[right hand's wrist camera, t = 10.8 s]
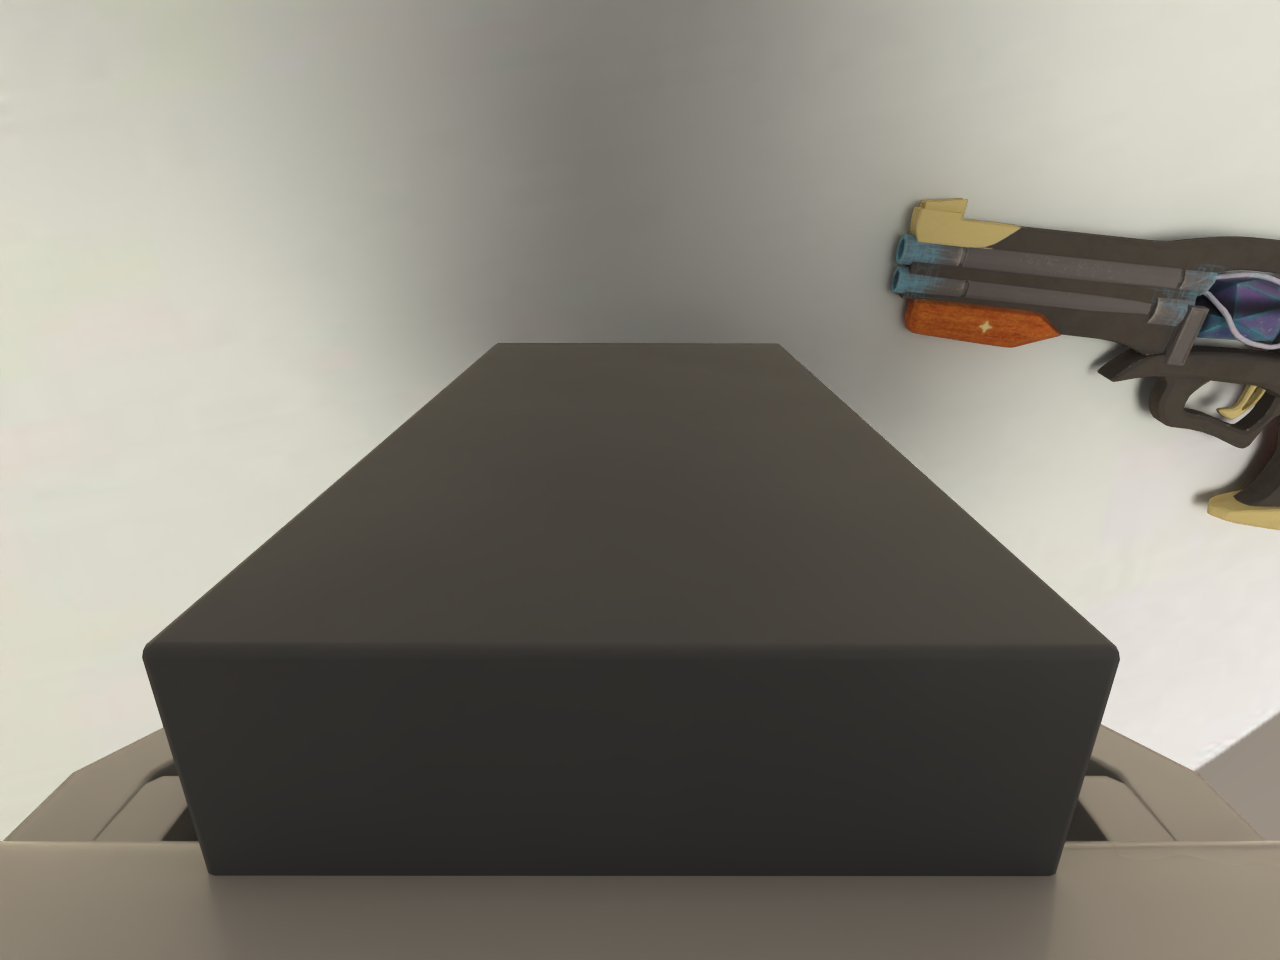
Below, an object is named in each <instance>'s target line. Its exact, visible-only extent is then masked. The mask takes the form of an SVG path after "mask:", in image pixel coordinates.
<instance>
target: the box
mask: <svg viewBox="0 0 1280 960" xmlns="http://www.w3.org/2000/svg"><path fill="white" fill-rule="evenodd" d="M142 658H143V662H144V665H145V668H146V671H147V675H148V678H149V681H150V684H151V688H152V691H153V694H154V698H155V701H156V704H157V707H158V711H159V714H160V717H161V720H162V724H163V727H164V730H165V733H166V737H167V740H168V743H169V746H170V750H171V753H172V756H173V760H174V763H175V766H176V769H177V773H178V776H179V779H180V782H181V786H182V789H183V792H184V795H185V799H186V802H187V805H188V808H189V812H190V815H191V818H192V822H193V825H194V828H195V831H196V835H197V838H198V841H199V844H200V848H201V851H202V854H203V857H204V861H205V864H206V867H207V870H208V873H209V874H212V875H214V876H1051V875H1054V874H1056V871H1057V867H1058V864H1059V861H1060V857H1061V854H1062V851H1063V847H1064V844H1065V841H1066V837H1067V834H1068V831H1069V827H1070V824H1071V821H1072V817H1073V814H1074V811H1075V807H1076V804H1077V801H1078V797H1079V794H1080V791H1081V787H1082V784H1083V781H1084V777H1085V774H1086V771H1087V767H1088V764H1089V761H1090V757H1091V754H1092V751H1093V747H1094V744H1095V741H1096V737H1097V734H1098V731H1099V727H1100V724H1101V721H1102V717H1103V714H1104V711H1105V707H1106V704H1107V701H1108V697H1109V694H1110V691H1111V687H1112V684H1113V681H1114V677H1115V674H1116V671H1117V667H1118V664H1119V661H1120V657H1119V652H1118V649H1117V647H1116V646H1115V645H1114V644H1113V643H1112V642H1110V641H1109V640H1108V639H1107V638H1106V637H1105V636H1104V635H1103V634H1102V633H1100V632H1099V631H1098V630H1097V629H1096V628H1095V627H1094V626H1093V625H1092V624H1090V623H1089V622H1088V621H1087V620H1086V619H1085V618H1084V617H1083V616H1081V615H1080V614H1079V613H1078V612H1077V611H1076V610H1075V609H1074V608H1073V607H1071V606H1070V605H1069V604H1068V603H1067V602H1066V601H1065V600H1064V599H1063V598H1061V597H1060V596H1059V595H1058V594H1057V593H1056V592H1055V591H1054V590H1052V589H1051V588H1050V587H1049V586H1048V585H1047V584H1046V583H1045V582H1044V581H1042V580H1041V579H1040V578H1039V577H1038V576H1037V575H1036V574H1035V573H1034V572H1032V571H1031V570H1030V569H1029V568H1028V567H1027V566H1026V565H1025V564H1024V563H1022V562H1021V561H1020V560H1019V559H1018V558H1017V557H1016V556H1015V555H1013V554H1012V553H1011V552H1010V551H1009V550H1008V549H1007V548H1006V547H1005V546H1003V545H1002V544H1001V543H1000V542H999V541H998V540H997V539H996V538H995V537H993V536H992V535H991V534H990V533H989V532H988V531H987V530H986V529H984V528H983V527H982V526H981V525H980V524H979V523H978V522H977V521H976V520H974V519H973V518H972V517H971V516H970V515H969V514H968V513H967V512H966V511H964V510H963V509H962V508H961V507H960V506H959V505H958V504H957V503H955V502H954V501H953V500H952V499H951V498H950V497H949V496H948V495H947V494H945V493H944V492H943V491H942V490H941V489H940V488H939V487H938V486H937V485H935V484H934V483H933V482H932V481H931V480H930V479H929V478H928V477H926V476H925V475H924V474H923V473H922V472H921V471H920V470H919V469H918V468H916V467H915V466H914V465H913V464H912V463H911V462H910V461H909V460H908V459H906V458H905V457H904V456H903V455H902V454H901V453H900V452H899V451H897V450H896V449H895V448H894V447H893V446H892V445H891V444H890V443H889V442H887V441H886V440H885V439H884V438H883V437H882V436H881V435H880V434H879V433H877V432H876V431H875V430H874V429H873V428H872V427H871V426H870V425H868V424H867V423H866V422H865V421H864V420H863V419H862V418H861V417H860V416H858V415H857V414H856V413H855V412H854V411H853V410H852V409H851V408H850V407H848V406H847V405H846V404H845V403H844V402H843V401H842V400H841V399H839V398H838V397H837V396H836V395H835V394H834V393H833V392H832V391H831V390H829V389H828V388H827V387H826V386H825V385H824V384H823V383H822V382H821V381H819V380H818V379H817V378H816V377H815V376H814V375H813V374H812V373H810V372H809V371H808V370H807V369H806V368H805V367H804V366H803V365H802V364H800V363H799V362H798V361H797V360H796V359H795V358H794V357H793V356H792V355H790V354H789V353H788V352H787V351H786V350H785V349H784V348H783V347H781V346H780V345H779V344H688V343H498V344H496V345H495V346H493V347H492V348H491V349H490V350H489V351H488V352H486V353H485V354H484V355H483V356H482V357H481V358H480V359H478V360H477V361H476V362H475V363H474V364H473V365H471V366H470V367H469V368H468V369H467V370H466V371H464V372H463V373H462V374H461V375H460V376H459V377H457V378H456V379H455V380H454V381H453V382H452V383H450V384H449V385H448V386H447V387H446V388H445V389H443V390H442V391H441V392H440V393H439V394H438V395H436V396H435V397H434V398H433V399H432V400H431V401H429V402H428V403H427V404H426V405H425V406H424V407H422V408H421V409H420V410H419V411H418V412H417V413H415V414H414V415H413V416H412V417H411V418H410V419H408V420H407V421H406V422H405V423H404V424H403V425H401V426H400V427H399V428H398V429H397V430H396V431H394V432H393V433H392V434H391V435H390V436H389V437H387V438H386V439H385V440H384V441H383V442H382V443H380V444H379V445H378V446H377V447H376V448H375V449H373V450H372V451H371V452H370V453H369V454H368V455H366V456H365V457H364V458H363V459H362V460H361V461H359V462H358V463H357V464H356V465H355V466H354V467H352V468H351V469H350V470H349V471H348V472H347V473H345V474H344V475H343V476H342V477H341V478H340V479H338V480H337V481H336V482H335V483H334V484H333V485H332V486H330V487H329V488H328V489H327V490H326V491H325V492H323V493H322V494H321V495H320V496H319V497H318V498H316V499H315V500H314V501H313V502H312V503H311V504H309V505H308V506H307V507H306V508H305V509H304V510H302V511H301V512H300V513H299V514H298V515H297V516H295V517H294V518H293V519H292V520H291V521H290V522H288V523H287V524H286V525H285V526H284V527H283V528H281V529H280V530H279V531H278V532H277V533H276V534H274V535H273V536H272V537H271V538H270V539H269V540H267V541H266V542H265V543H264V544H263V545H262V546H260V547H259V548H258V549H257V550H256V551H255V552H253V553H252V554H251V555H250V556H249V557H248V558H246V559H245V560H244V561H243V562H242V563H241V564H239V565H238V566H237V567H236V568H235V569H234V570H232V571H231V572H230V573H229V574H228V575H227V576H225V577H224V578H223V579H222V580H221V581H220V582H218V583H217V584H216V585H215V586H214V587H213V588H211V589H210V590H209V591H208V592H207V593H206V594H204V595H203V596H202V597H201V598H200V599H199V600H197V601H196V602H195V603H194V604H193V605H192V606H190V607H189V608H188V609H187V610H186V611H185V612H184V613H182V614H181V615H180V616H179V617H178V618H177V619H175V620H174V621H173V622H172V623H171V624H170V625H168V626H167V627H166V628H165V629H164V630H163V631H161V632H160V633H159V634H158V635H157V636H156V637H154V638H153V639H152V640H151V641H150V642H149V643H147V644H146V646H145V648H144V650H143V656H142Z"/></svg>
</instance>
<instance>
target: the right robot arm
mask: <svg viewBox="0 0 1280 960" xmlns="http://www.w3.org/2000/svg"><path fill="white" fill-rule="evenodd" d="M0 960H1280V841H1266V840H1265V839H1264V838H1263V837H1262V836H1261V835H1260V834H1259V833H1258V832H1257V831H1256V830H1255V829H1254V828H1253V827H1252V826H1251V825H1250V824H1249V823H1248V822H1247V821H1246V820H1245V819H1244V818H1243V817H1242V816H1241V815H1240V814H1239V813H1238V812H1237V811H1236V810H1235V809H1234V808H1233V807H1232V806H1231V805H1230V804H1229V803H1228V802H1227V801H1226V800H1225V799H1224V798H1223V797H1222V796H1221V795H1220V794H1219V793H1218V792H1217V791H1216V790H1215V789H1214V788H1213V787H1212V786H1211V785H1210V784H1209V783H1208V782H1207V781H1206V780H1205V779H1204V778H1203V777H1202V776H1201V775H1200V774H1198V773H1196V772H1194V771H1192V770H1190V769H1188V768H1186V767H1184V766H1182V765H1180V764H1178V763H1176V762H1175V761H1173V760H1171V759H1169V758H1167V757H1165V756H1163V755H1161V754H1159V753H1157V752H1155V751H1153V750H1151V749H1149V748H1147V747H1145V746H1143V745H1141V744H1139V743H1137V742H1135V741H1133V740H1131V739H1129V738H1127V737H1125V736H1123V735H1121V734H1119V733H1117V732H1115V731H1113V730H1111V729H1109V728H1107V727H1105V726H1104V725H1102V724H1100V727H1099V731H1098V734H1097V737H1096V741H1095V744H1094V747H1093V751H1092V754H1091V757H1090V761H1089V764H1088V767H1087V771H1086V774H1085V777H1084V781H1083V784H1082V787H1081V791H1080V794H1079V797H1078V801H1077V804H1076V807H1075V811H1074V814H1073V817H1072V821H1071V824H1070V827H1069V831H1068V834H1067V837H1066V841H1065V844H1064V847H1063V851H1062V854H1061V857H1060V861H1059V864H1058V867H1057V871H1056V874H1054V875H1051V876H214V875H212V874H209V873H208V870H207V867H206V864H205V861H204V857H203V854H202V851H201V848H200V844H199V841H198V838H197V835H196V831H195V828H194V825H193V822H192V818H191V815H190V812H189V808H188V805H187V802H186V799H185V795H184V792H183V789H182V786H181V782H180V779H179V776H178V773H177V769H176V766H175V763H174V760H173V756H172V753H171V750H170V746H169V743H168V740H167V737H166V733H165V730H164V728H162V729H160V730H158V731H156V732H154V733H152V734H150V735H148V736H146V737H144V738H142V739H140V740H138V741H136V742H134V743H132V744H130V745H128V746H126V747H124V748H122V749H120V750H118V751H116V752H114V753H112V754H110V755H108V756H106V757H104V758H102V759H100V760H98V761H96V762H94V763H92V764H90V765H88V766H86V767H84V768H82V769H80V770H78V771H76V772H74V773H72V774H71V775H70V776H69V777H68V778H67V779H66V780H65V781H64V782H63V783H62V784H61V785H60V786H59V787H58V788H57V789H56V790H55V791H54V792H53V793H52V794H51V795H50V796H49V797H48V798H47V799H46V800H45V801H44V802H42V803H41V804H40V805H39V806H38V807H37V808H36V809H35V810H34V811H33V812H32V813H31V814H30V815H29V816H28V817H27V818H26V819H25V820H24V821H23V822H22V823H21V824H20V825H19V826H18V827H17V828H16V829H15V830H14V831H13V832H12V833H11V834H10V835H9V836H8V837H6V838H5V839H4V840H3V841H0Z"/></svg>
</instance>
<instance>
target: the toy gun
mask: <svg viewBox="0 0 1280 960" xmlns="http://www.w3.org/2000/svg"><path fill="white" fill-rule="evenodd" d="M967 202H968V200H967V199H965V200H963V198H954V199H938V200H922V201H921V202H920V206H919V207H914V210H913V214H912V218H911V224H910V232H911V234H906V233H905V234H904V235H902V237H901V239H900V241H899V244H898V247H897V252H896V262H897V264H903V265H906V266H905V267H904V266H898V267H897V268H896V269H895V272H894V274H893V278H892V283H891V291H892V293H899V295H900V296H901V297H902V298H907V299H909V301H908V305H907V309H906V312H905V316H904V321H905V326H906V327H907V328H908V329H909V330H910V331H911V332H913V333H917V334H922V335H929V336H935V337H942V338H948V339H954V340H961V341H967V342H974V343H980V344H987V345H993V346H1001V347H1016V346H1020V345H1024V344H1028V343H1032V342H1036V341H1040V340H1044V339H1049V338H1053V337H1057V336H1060V335H1061V334H1063V335H1072V336H1080V337H1089V338H1098V339H1104V340H1108V341H1113V342H1117V343H1120V344H1123V345H1126V346H1128V347H1130V349H1128V350H1126V351H1124V352H1123V353H1121V354H1120V355H1118V356H1117V357H1115V358H1114V359H1112V360H1111V361H1109V362H1108V363H1107V364H1105V365H1104V366H1103V367H1101V368H1100V369H1099V370H1098V373H1099V374H1101V375H1103V376H1104V377H1106V378H1108V379H1109V380H1111V381H1113V382H1115V381H1122V380H1127V379H1133V378H1139V377H1155V376H1157V382H1156V384H1155V386H1154V388H1153V390H1152V392H1151V394H1150V398H1149V408H1150V412H1151V414H1152V416H1153V417H1154V418H1156V419H1157V420H1159V421H1160V422H1162V423H1163V424H1165V425H1167V426H1170V427H1177V428H1186V429H1192V430H1196V431H1200V432H1204V433H1207V434H1209V435H1212V436H1215V437H1217V438H1219V439H1221V440H1223V441H1225V442H1227V443H1229V444H1231V445H1233V446H1235V447H1238V448H1246V447H1247V446H1249V445H1250V444H1251V442H1252V441H1253V440H1254V439H1255V438H1256V436H1257V435H1258V434H1259V433H1260V432H1261V430H1262V429H1263V428H1264V427H1265V426H1266V425H1267V424H1268V423H1269V422H1270V421H1271V420H1273V419H1274V418H1275V417H1277V416H1278V437H1277V445H1276V450H1275V452H1274V454H1273V456H1272V458H1271V459H1270V460H1269V462H1268V463H1267V465H1266V466H1265V467H1264V469H1263V470H1262V471H1261V472H1260V474H1259V475H1258V476H1257V477H1256V478H1255V480H1254V481H1253V482H1252V483H1250V484H1249V485H1248V486H1247V487H1246V488H1245V489H1243V490H1239V491H1233V492H1228V493H1223V494H1219V495H1216V496H1214V497H1212V498H1210V500H1209V503H1208V510H1207V513H1208V514H1210V515H1212V516H1215V517H1218V518H1220V519H1223V520H1226V521H1230V522H1234V523H1238V524H1244V525H1250V526H1256V527H1262V528H1268V529H1275V530H1280V279H1278V278H1276V277H1273V276H1270V275H1267V274H1262V273H1254V272H1242V273H1226V274H1218V273H1220V272H1224V271H1228V270H1254V271H1263V272H1272V273H1280V240H1273V239H1264V238H1254V237H1209V238H1195V239H1185V240H1176V241H1153V240H1143V239H1134V238H1124V237H1115V236H1105V235H1096V234H1087V233H1077V232H1068V231H1058V230H1049V229H1040V228H1031V227H1023V226H1016V225H1012V224H1004V223H996V222H988V221H979V220H970V219H963V217H964V213H965V209H966V206H967ZM1196 337H1198V338H1216V339H1234V340H1239V341H1241V342H1243V343H1245V344H1247V345H1250V346H1253V347H1258V348H1263V349H1269V350H1268V352H1264V351H1254V350H1245V349H1236V348H1223V347H1209V346H1193V344H1194V342H1195V340H1196ZM1251 340H1252V341H1251ZM1254 341H1270V342H1272V344H1271V345H1269V344H1263V343H1258V342H1254ZM1210 380H1212V381H1220V382H1229V383H1238V384H1245V385H1247V386H1246V387H1245V389H1244V391H1243V392H1242V394H1241V396H1240V397H1239V399H1238V400H1237V402H1236V403H1235V404H1234V405H1233V406H1231V407H1226V408H1218V409H1216V410H1217V412H1218V413H1219V414H1221V415H1222V416H1224V417H1225V418H1228V419H1234V418H1236V417H1238V416H1240V415H1241V414H1242V413H1244V412H1245V411H1247V410H1248V409H1249V408H1251V407H1252V406H1253V405H1254V404H1255V403H1256V402H1257V401H1258V402H1257V403H1256V405H1255V407H1254V408H1253V409H1252V410H1251V412H1250V413H1248V414H1247V415H1246V416H1245V417H1244V418H1242V419H1241V420H1240V421H1238V422H1237V423H1235V424H1229V423H1227V422H1224V421H1221V420H1219V419H1217V418H1214V417H1212V416H1210V415H1207V414H1205V413H1203V412H1200V411H1196V410H1193V409H1187V408H1184V406H1185V403H1186V401H1187V400H1188V398H1189V396H1190V395H1191V394H1192V393H1193V392H1194V391H1196V390H1197V389H1198V388H1200V387H1201V386H1202V385H1204V384H1206V383H1207V382H1209V381H1210ZM1257 386H1258V389H1257V390H1256V391H1255V393H1254V394H1253V396H1252V397H1251V398H1250V396H1251V395H1252V393H1253V392H1254V390H1255V389H1256V387H1257ZM1249 398H1250V400H1249ZM1248 400H1249V401H1248ZM1247 401H1248V402H1247ZM1246 402H1247V403H1246Z"/></svg>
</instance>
